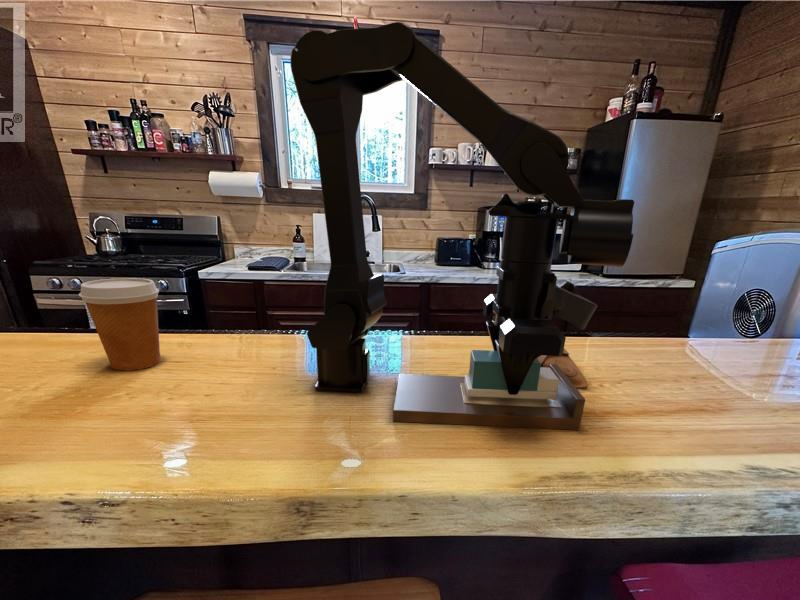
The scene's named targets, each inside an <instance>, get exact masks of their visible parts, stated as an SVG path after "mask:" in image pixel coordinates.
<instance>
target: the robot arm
mask: <svg viewBox="0 0 800 600" xmlns="http://www.w3.org/2000/svg"><path fill="white" fill-rule="evenodd" d="M290 71H291V75H292V78H293V82H294V85H295V89H296V93H297V97H298V100H299V104H300V106H301V108H302V110H303V113H304V115H305V116H306V119H307V121H308V124H309V125H310V128H311V130H312V131H313V132H312V133H313V135H314V138H315V145H316V156H317V162H318V163H317V164H318V170H319V179H320V186H321V195H322V203H323V211H324V220H325V228H326V236H327V242H328V243H327V244H328V251H329V252H328V253H329V261H330V266H329V271H328V275H327V280H326V283H325V286H324V299H323V316H322V317H321V318H320V319H319V320H318V321H317V322H316V323H315V324H314V325H312V326H311V328H309V330H307V332H306V335H307V338H308V341H309V343H310V346H311V348H312V349H316V368H317V369H316V370H317V381H316V383H315V385H314V390H315V391H328V392H329V391H330V392H331V391H333V392H353V393H362V392H363V391H364V388H365V385H366V384H368V382H369V379H370V377H371V374H370V373H371V372H370V371H371V370H370V369H371V368H370V366H371V358H370V357H371V355H370V353H371V351H370V350H369V349H367V348H366V347H367V345H366V344H367V343H366V342H367V341H366V338H364V337H365V336H367V335H368V334H369V333H370V329H371V327H372V326H374V325H375V324H376V323H377V322H378V321H379V320H380V319H381V317H382V315H383V311H384V307H385V306H387V304H388V301H387V299H386V297H385V292H384V291H385V289H384V287H385V275H384V274H383V273H379V274H376V275H375V274H374V272H373V270H372V267H371V266H370V264H369V261H368V255H367V246H366V245H367V244H366V233H365V232H366V231H365V224H364V211H363V203H362V202H363V201H362V191H361V181H360V180H361V179H360V168H359V160H358V150H357V149H358V147H357V133H358V129H359V125H360V121H361V117H362V113H363V104H364V103H363V101H364V96H366V95H371V94H374V93H378V92H380V91H381V90H383V89H385V88H387V87H389V86H391V85H394V84H395V83H397V82H402V81H405V82H407V83H408V84H409V85H410V86H411V87H413V88H414V89H415V90H417V92H418V93H420V94H421V95H422V96H424V97H425V98H426V99H427V100H428V101H429V102H431V103H432V104H433V105H434V106H435V107H437V108H438V109H439V110H440V111H441V112H443V113H444V114H445V115H446V116H448V117H449V118H450V119H451V120H452V121H453V122H455V123H456V124H457V125H458V126H459V127H461V128H462V129H463V130H464V131H465V132H467V133H468V134H469V135H470V136H471V137H472V138H474V140H476V141H477V142H478V143H480V144H481V146H483V148H484V149H485V150H486V152H487V153H489V155H490V156H491V157H492V158H493V160H494V161H495V162H496V164H498V166H499V167H500V168H501V170H502V171H503V172H504V173H505V175H506V176H507V177H508V178H509V180H510V181H511V182H512V183H513V184H514V186H515V187H516V188H517V190H519V191H520V192H521V193H523V194H524V195H526V196H529V197H534V198H535V197H541V196H542V197H543V198H544V199H545V200H547V201H548V202H549V203H551V204H552V206H554V207H556V208H570V211H569V212H570V214H567V213H566V214H563V213H548V212H547V213H546V212H545V213H543V212H539V207H540V202H539V201H520V200H519V201H518V200H517V201H516V200H512V198H511V197H510V195H509V194H508V193H503V194H502V196H501V198H500V199H499V201H498V202H496V204H494V205H493V206H492V207H491V208H489V209H488V215H489V216H490V217H504V218H505V219H504V228H503V237H502V246H501V255H500V261H499V265H497V266H496V270H495V271H496V272H495V275H496V276H497V278H498V281H497V288H496V293H490V294H489V295H488V296H487V297H486V298H484V300H483V307H482V315H483V316H484V318H490V316H491V314H492V320H486V321H485V325H486V327H487V332H488V335H489V338H490V342H491V345H492V349H493V351H498V354H499V358H500V362H501V366H502V370H503V374H504V378H505V382H506V386H507V390H508V393H509V394H510V395H517V394H518V392H519V390H520V388H521V386H522V384H523V382H524V380H525V378H526V376H527V373H528V371H529V369H530V367H531V366H532V364H533V362H534V360H535V359H536V358H538V357H539V356H541V355H547V356H560V355H563V350H564V349H565V345H566V339H567V337H566V336H565V335H564V333H563V332H562V330H561V329H560V328H559V327H558V326H557V325H556V324H554V322H552V320H553V316H554V317H556V318H558V319H561V320H563V321H566V322H568V323H570V324H573V326H574V327H575V328H578V329H579V330H585V329H586V327H587V325H588V323H589V321H590V320H591V318H592V316H593V315H594V313H595V311H596V309H597V308H598V306H599V305H598V304H596V303H594V302H593V301H591V300H590V299H587V298H585V297H583V296H582V295H579V294H578V285H577V284H575V283H573V282H570V281H568V280H566V279H562V280H561V281H559V282H558V283H557V281H558V277H557V275H556V273H555V272H553V271H551V269H552V263H553V256H554V250H555V245H556V244H555V243H556V237H557V231H558V225H559V220H563V225H562V230H561V235H560V243H559V254H563V255H564V254H566V256H567V264H572V265H585V266H586V265H587V266H588V265H589V266H602V267H617V268H622V267H624V265H625V264H626V262H627V259H628V257H629V254H630V250H631V247H632V244H633V238H634V233H632V232H633V225H634V214H633V210H634V207H635V200H633V199H628V198H627V199H626V198H625V199H623V198H622V199H615V200H614V199H613V200H600V199H599V200H597V199H595V200H594V199H582V197H581V195H580V193H579V191H580V189H579V188H576V186H575V184H574V182H573V180H572V178H571V177H570V175H569V173H568V169H569V165H570V162H569V161H570V159H569V157H570V156H569V149H568V147H567V144H566V143H565V142H564V141H563V139H562V138H561V137H560V136H559V135H557V134H556V133H554V132H553V131H551V130H548V129H547V128H545V127H543V126H541V125H539V124H537V123H535V122H534V121H532V120H530V119H527V118H525V117H522V116H520V115H518V114H515V113H513V112H511V111H509V110H507V109H505V108H504V107H503V106H501V105H499V103H497V102H496V101H495V100H493V99H492V98H491V96H489V95H488V94H487V93H485V92H484V91H483V90H482V89H480V88H479V86H477V85H476V84H474V83H473V82H472V81H471V80H470V79H469V78H468V77H466V76H465V75H464V74H463V73H461V71H459V70H458V69H457V68H456V67H455V66H453V65H452V64H451V63H450V62H449V61H447V60H446V59H445V58H444V57H442V55H440V54H439V53H438V52H436V51H435V49H433V48H432V47H431V46H430V45H428V44H427V43H426V42H424V40H422V39H421V38H420V37H419V36H418V35H417V34H416V32H415V31H414V29H413V28H412V27H411V26H410V25H409V24H407V23H405V22H403V21H395V22H389V23H387V24H384V25H381V26H377V27H360V28H358V27H357V28H344V29H338V30H334V31H332V32H329V33H327V32H326V31H323V30H310V31H308V32H306V33H304V34H303V35H302V36H301V37H300V38H298V41H296V44H295V46H294V47H293V48H292V49H291V52H290Z"/></svg>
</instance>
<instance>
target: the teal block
mask: <svg viewBox="0 0 800 600" xmlns="http://www.w3.org/2000/svg"><path fill="white" fill-rule="evenodd" d="M469 357H470V358H469V370H468V374H464V377H465V386H466V391H467V395H468V396H471V397H498V398H524V399H551V400H556V399H557V394H558V393H557V389H558V383H559V379H558V378H557V377H556V375H555V374H554V373H553V371H552V370H551V369H550V368H546V367H541V363H540V362H539V360H538V359H537V358H536V359H535V360H534V362H533V364H532V366H531V367H530V369H529V371H528V373H527V376H526V378H525V380H524V382H523V384H522V386H521V388H520V390H519V392H518V394H517V395H510V394H509V393H508V390H507V386H506V382H505V378H504V374H503V370H502V366H501V362H500V358H499V354H498V351H494V350H486V349H485V350H484V349H470V356H469Z"/></svg>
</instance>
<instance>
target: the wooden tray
mask: <svg viewBox="0 0 800 600" xmlns="http://www.w3.org/2000/svg"><path fill="white" fill-rule="evenodd" d="M549 368H550V369H551V370H552V371H553V373H554V374H555V375H556V377H557V378H558V379H559V383H558V389H557V393H558V394H557V399H556V400H551V399H524V398H498V397H471V396H468V395H467V391H466V386H465V376H459V375H458V376H457V375H440V374H439V375H438V374H437V375H436V374H420V373H419V374H416V373H415V374H414V373H399V374H398V379H397V386H396V392H395V397H394V403H393V409H392V422H400V423H420V424H421V423H423V424H425V423H426V424H441V425H442V424H444V425H465V426H488V427H507V428H528V429H547V430H571V431H579V430H580V427H581V423H582V418H583V414H584V408H585V404H586V398H585V397H584V396H583V394H582V393H581V391H579V390H578V388H576V387H575V386H574V385H573V384H572V382H571V381H570V380H569V379H568V377H567V376H566V375H565V374H564V373H563V371H562V370H561V369H560V368H559V367H558V365H557V364H550V365H549Z"/></svg>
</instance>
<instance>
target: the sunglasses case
mask: <svg viewBox="0 0 800 600" xmlns="http://www.w3.org/2000/svg"><path fill="white" fill-rule="evenodd" d="M537 359H538V360H539V362H540V363H541V367H546V368H549V365H550V364H557V365H558V367H559V368H560V369H561V370H562V371H563V373H564V374H565V375H566V376H567V377H568V379H569V380H570V381H571V382H572V384H573V385H574V386H575V387H576V388H577V389H582V388H588V382H587V380H586V377H585V376H584V375H583V373H582V372H581V370H580V368H579V367H578V365H577V364H576V363H575V362H574V361H573V360H572V358H571V357H570V353H569V351H567V349H566V348H564V350H563V355H560V356H547V355H541V356H539V357H538V358H537Z"/></svg>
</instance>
